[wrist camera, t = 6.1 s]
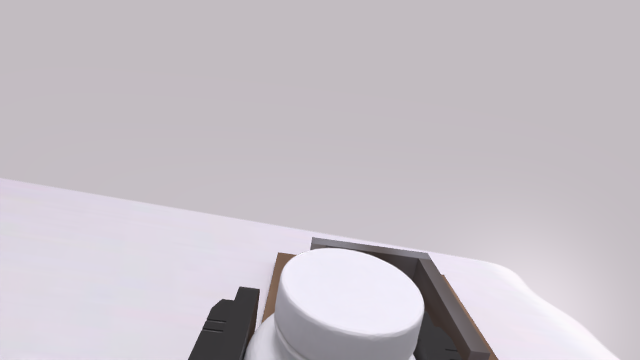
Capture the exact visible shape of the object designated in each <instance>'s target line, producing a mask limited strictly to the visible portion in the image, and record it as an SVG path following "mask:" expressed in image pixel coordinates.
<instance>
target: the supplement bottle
mask: <svg viewBox="0 0 640 360" xmlns="http://www.w3.org/2000/svg"><path fill="white" fill-rule="evenodd" d="M423 315H424V301H423V297H422V295H421V293H420V291H419V289H418V288H417V286H416V285H415V284H414V282H413V281H412V280H411V279H410V278H409V277H408V276H407V275H405V274H404V273H403V272H402V271H400V270H399V269H397V268H396V267H394V266H393V265H391V264H389V263H387V262H385V261H383V260H381V259H379V258H377V257H374V256H371V255H369V254H365V253H362V252H357V251H353V250H347V249H340V248H321V249H314V250H309V251H306V252H303V253H300V254H298V255H296V256H295V257H293V258H292V259H291V260H290V261H289V262H288V263H287V264H286V265H285V266H284V268H283V271H282V273H281V276H280V281H279V287H278V292H277V298H276V304H275V313H273V314H272V315H271V316H269V317H268V318H267V319H266V320H265V321H264V322H263V323H262V324H261V325H260V326H259V327H258V329H257V330H256V331H255V333H254V334H253V336H252V338H251V340H250V342H249V344H248V346H247V349H246V351H245V356H244V360H416V359H415V357H414V355H413V352H414V350H415V348H416V344H417V339H418V335H419V331H420V327H421V323H422V319H423Z"/></svg>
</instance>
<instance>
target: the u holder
mask: <svg viewBox="0 0 640 360" xmlns="http://www.w3.org/2000/svg"><path fill="white" fill-rule="evenodd" d="M321 248H340V249H347V250H353V251H357V252H362V253H365V254H369V255H371V256H374V257H377V258H379V259H381V260H383V261H385V262H387V263H389V264H391V265H393V266H394V267H396V268H397V269H399V270H400V271H402V272H403V273H404V274H405V275H407V276H408V277H409V278H410V279H411V280H412V281H413V282H414V284H415V285H416V286H417V288H418V289H419V291H420V293H421V295H422V297H423V301H424V311H427V312H428V314H429V316H430V318H431V320H432V323H433V325H434V326H435V327H441V328H442V329H443V330H444V331H445V332H446V333H447V335H448V336H449V337H450V338H451V339H452V341H453V343H454V345H455V347H456V348H457V352H458V353H459V354H460V356H461V358H462V360H498V358H497V357H496V355H495V354H494V352H493V351H492V349H491V348H490V346H489V344H488V343H487V341H486V340H485V338H484V337H483V335H482V334H481V332H480V330H479V329H478V327H477V326H476V324H475V323H474V321H473V320H472V318H471V317H470V315H469V313H468V312H467V310H466V309H465V307H464V306H463V304H462V303H461V301H460V300H459V298H458V296H457V295H456V293H455V292H454V290H453V289H452V287H451V286H450V284H449V282H448V281H447V279H446V278H445V276H444V275H441V274H440V272H439V271H438V269H437V268H436V266H435V264H434V263H433V261H432V260H431V258H430V257H429V255H428V253H422V252H415V251H407V250H400V249H393V248H386V247H379V246H371V245H364V244H357V243H350V242H343V241H335V240H328V239H321V238H314V237H312V243H311V249H310V250H314V249H321ZM295 256H296V255H293V254H286V253H278V255H277V259H276V263H275V268H274V272H273V276H272V280H271V285H270V289H269V293H268V297H267V302H266V306H265V310H264V314H263V319H262V323H263V322H264V321H265V320H266V319H267V318H268V317H269V316H271V315H272V314H273V313H275V304H276V298H277V292H278V287H279V281H280V276H281V273H282V271H283V268H284V266H285V265H286V264H287V263H288V262H289V261H290V260H291V259H292V258H293V257H295ZM262 323H261V324H262Z"/></svg>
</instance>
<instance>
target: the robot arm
mask: <svg viewBox="0 0 640 360" xmlns="http://www.w3.org/2000/svg"><path fill="white" fill-rule="evenodd" d="M259 293H260V289H255V288H247V287H239V289H238V292H237V295H236V297H235V300H234V301H233V300H226V299H222V300H221V301H219V302H218V303H217V304H216V305H215V306H214V307H212V309H211V311H210V313H209V315H208V318H207V321H206V322H205V324H204V326H203V329H202V330H201V333H200V335H199V337H198V339H197V341H196V343H195V346H194V348H193V350H192V352H191V354H190V356H189V359H188V360H244V356H245V351H246V349H247V346H248V344H249V342H250V340H251V338H252V336H253V334H254V332H255V326H256V318H257V310H258V301H259ZM413 355H414V357H415V359H416V360H462V358H461V356H460V354H459V353H458V352H457V348H456V347H455V345H454V343H453V341H452V339H451V338H450V337H449V336H448V335H447V333H446V332H445V331H444V330H443V329H442V328H441V327H435V326H434V325H433V323H432V320H431V318H430V316H429V314H428V312H427V311H424V315H423V319H422V323H421V327H420V331H419V335H418V339H417V344H416V348H415V350H414V352H413Z"/></svg>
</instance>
